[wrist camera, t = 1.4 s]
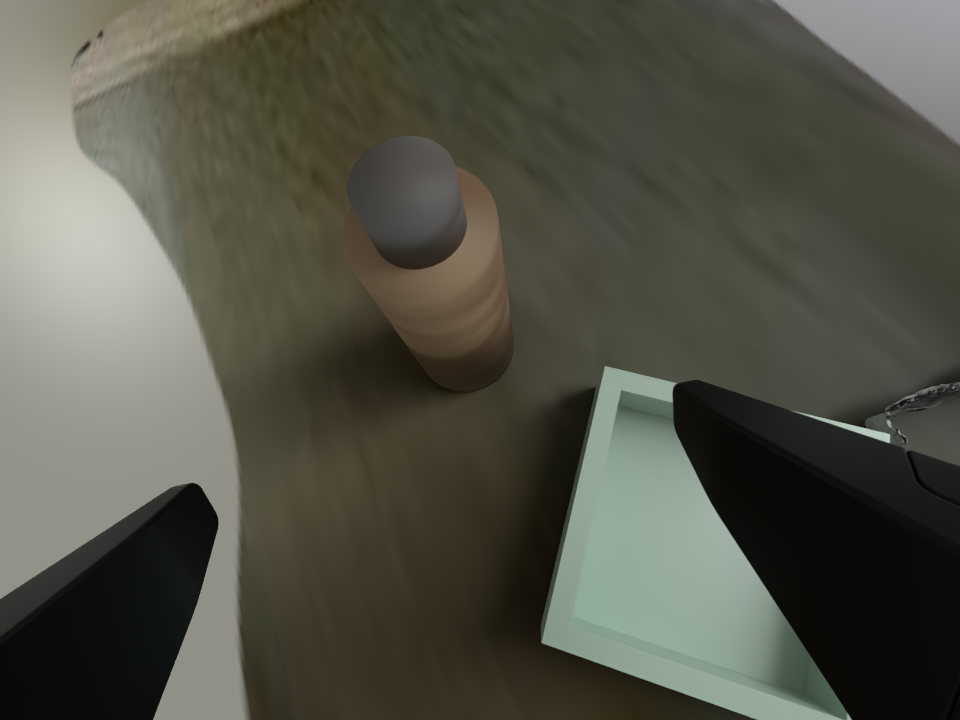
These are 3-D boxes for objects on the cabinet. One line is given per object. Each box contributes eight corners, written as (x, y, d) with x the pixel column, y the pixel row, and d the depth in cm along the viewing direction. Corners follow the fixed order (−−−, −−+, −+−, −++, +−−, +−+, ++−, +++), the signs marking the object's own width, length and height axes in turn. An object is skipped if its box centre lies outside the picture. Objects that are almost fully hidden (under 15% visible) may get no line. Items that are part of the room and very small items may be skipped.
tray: (819, 722, 17) (873, 761, 15) (540, 625, 19) (541, 642, 16) (840, 446, 20) (890, 434, 17) (596, 386, 22) (604, 366, 19)
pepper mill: (498, 403, 22) (460, 278, 11) (406, 378, 23) (284, 241, 12) (524, 314, 24) (513, 122, 12) (436, 294, 25) (350, 97, 13)
